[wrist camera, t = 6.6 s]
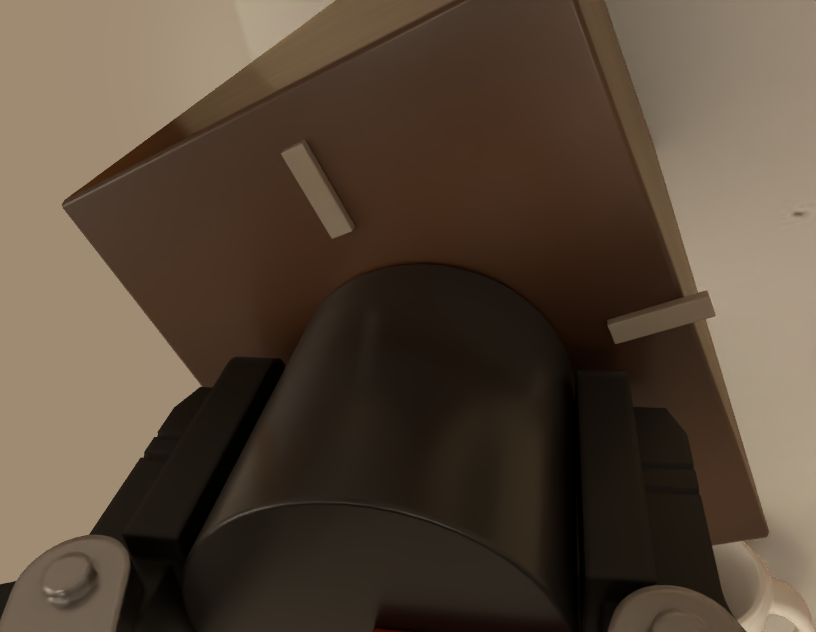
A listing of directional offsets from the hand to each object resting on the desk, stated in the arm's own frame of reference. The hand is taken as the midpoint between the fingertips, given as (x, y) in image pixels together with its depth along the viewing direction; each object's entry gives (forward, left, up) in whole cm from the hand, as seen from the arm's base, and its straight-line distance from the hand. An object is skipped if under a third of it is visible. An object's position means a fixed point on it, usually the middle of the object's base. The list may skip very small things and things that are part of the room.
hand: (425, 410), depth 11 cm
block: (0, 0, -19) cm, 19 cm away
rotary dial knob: (0, 0, -1) cm, 1 cm away
